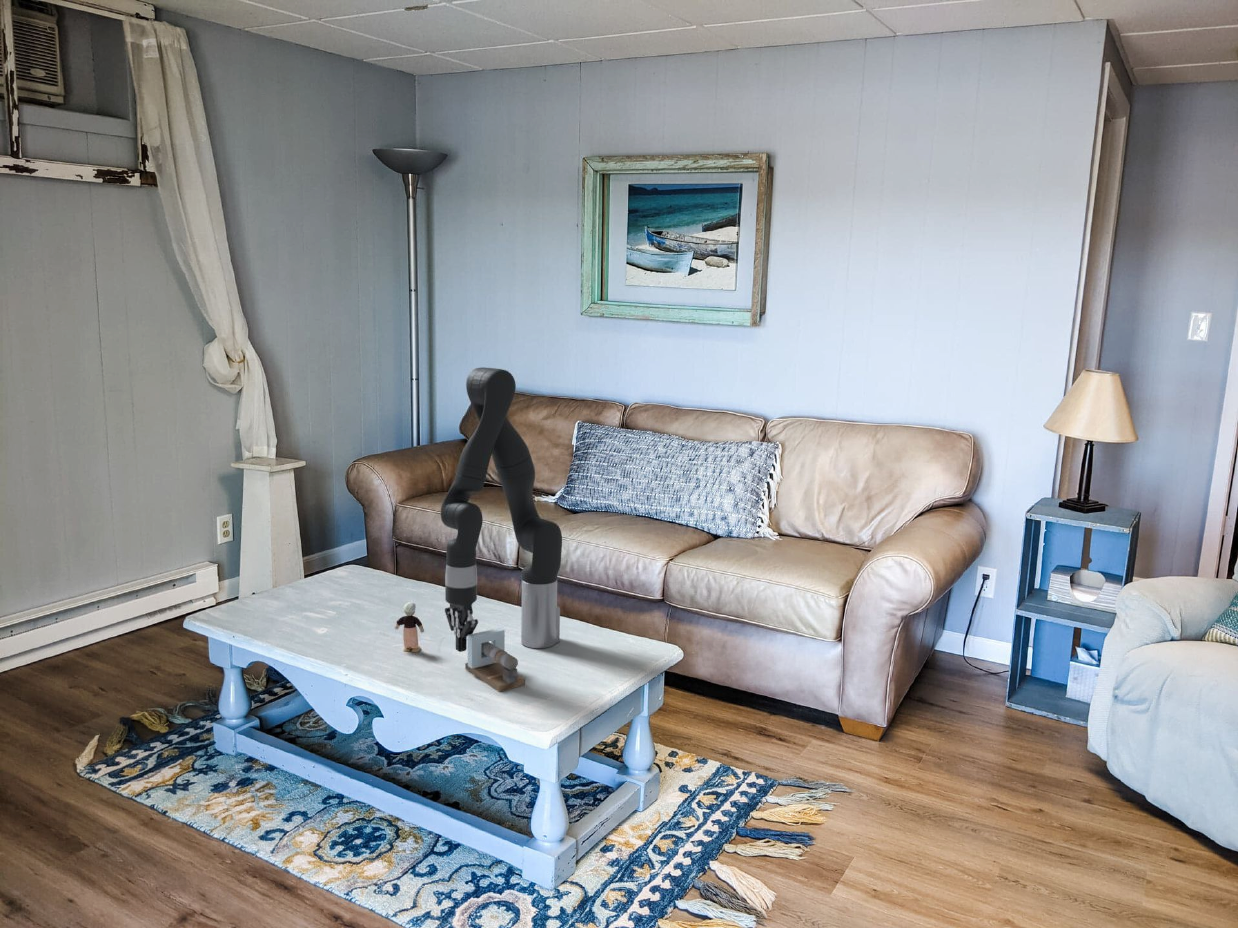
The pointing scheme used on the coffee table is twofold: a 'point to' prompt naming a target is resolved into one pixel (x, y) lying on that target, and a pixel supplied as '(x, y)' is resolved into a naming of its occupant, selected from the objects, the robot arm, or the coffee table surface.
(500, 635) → the square plate with hole
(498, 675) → the pipe stand
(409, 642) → the grandmother figurine
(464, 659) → the coffee table surface
